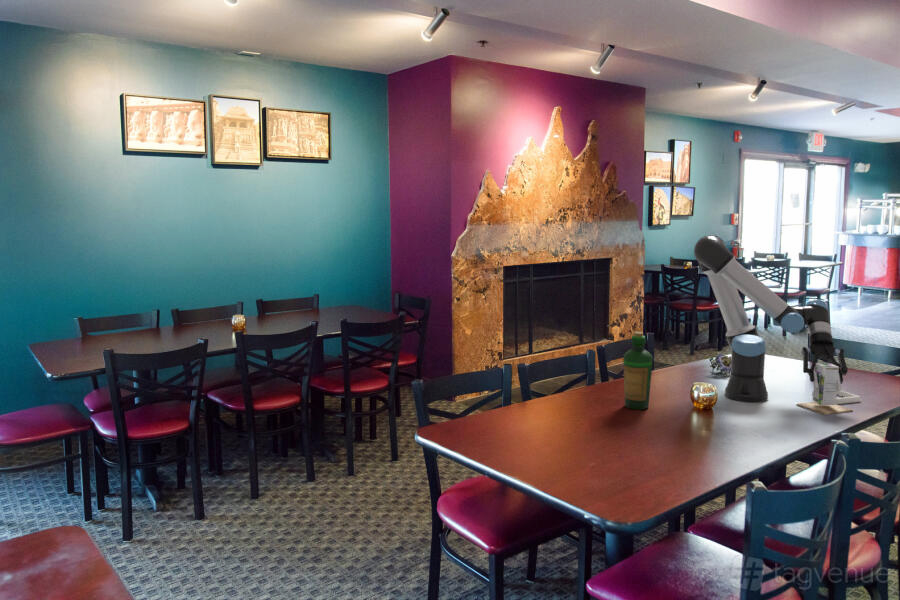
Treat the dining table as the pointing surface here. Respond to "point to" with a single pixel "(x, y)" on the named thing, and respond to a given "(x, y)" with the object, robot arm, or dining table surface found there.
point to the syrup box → (826, 384)
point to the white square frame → (846, 398)
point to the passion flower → (721, 363)
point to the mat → (825, 408)
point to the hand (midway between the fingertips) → (827, 389)
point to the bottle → (637, 374)
